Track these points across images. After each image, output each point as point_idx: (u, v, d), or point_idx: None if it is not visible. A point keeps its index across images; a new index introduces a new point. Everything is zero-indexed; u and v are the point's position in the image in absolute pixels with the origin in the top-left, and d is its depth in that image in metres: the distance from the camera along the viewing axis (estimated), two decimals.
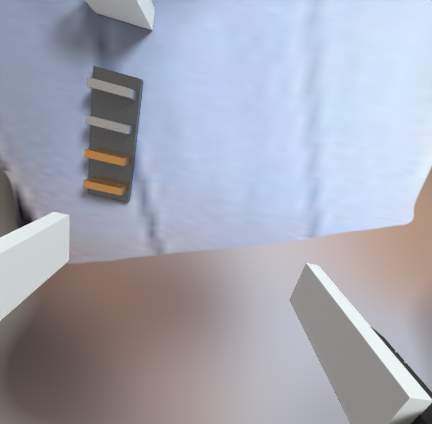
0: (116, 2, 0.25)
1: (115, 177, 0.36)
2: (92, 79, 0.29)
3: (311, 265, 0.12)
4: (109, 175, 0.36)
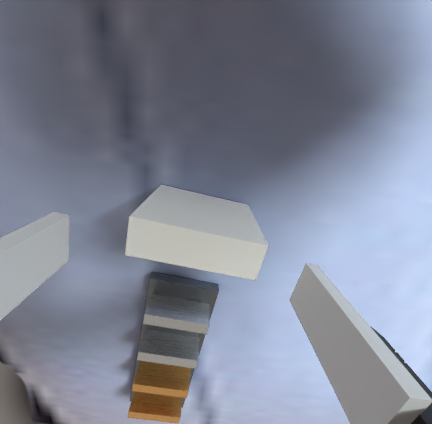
0: None
1: None
2: (152, 316, 0.19)
3: (311, 265, 0.12)
4: None
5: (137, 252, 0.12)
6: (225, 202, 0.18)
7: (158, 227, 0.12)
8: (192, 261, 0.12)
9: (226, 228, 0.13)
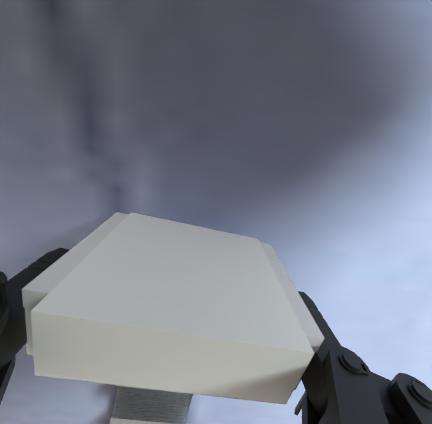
0: None
1: None
2: None
3: (263, 243, 0.13)
4: None
5: (57, 370, 0.06)
6: (226, 238, 0.12)
7: (95, 328, 0.06)
8: (168, 381, 0.06)
9: (232, 310, 0.07)
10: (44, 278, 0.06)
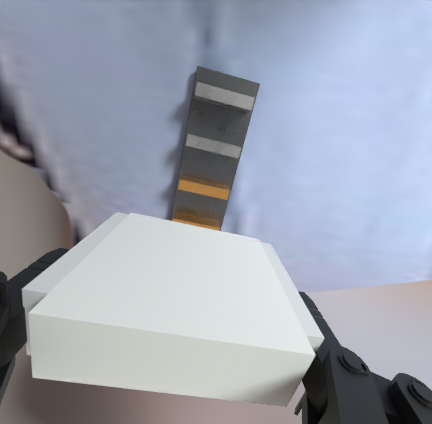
0: None
1: (205, 211, 0.28)
2: (203, 85, 0.21)
3: (263, 243, 0.13)
4: (198, 208, 0.28)
5: (56, 372, 0.06)
6: (226, 238, 0.12)
7: (94, 329, 0.06)
8: (167, 383, 0.06)
9: (232, 312, 0.07)
10: (44, 278, 0.06)
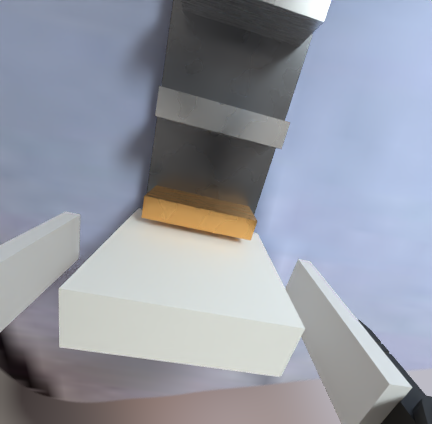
0: None
1: None
2: None
3: (303, 261, 0.12)
4: None
5: (80, 342, 0.07)
6: None
7: (113, 304, 0.07)
8: (175, 353, 0.07)
9: (232, 292, 0.08)
10: None
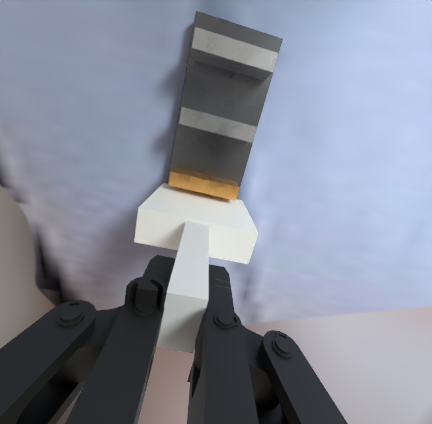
0: None
1: None
2: (205, 32, 0.14)
3: (201, 225, 0.13)
4: None
5: (144, 239, 0.14)
6: (221, 198, 0.20)
7: (163, 216, 0.13)
8: None
9: (222, 219, 0.15)
10: (175, 283, 0.08)
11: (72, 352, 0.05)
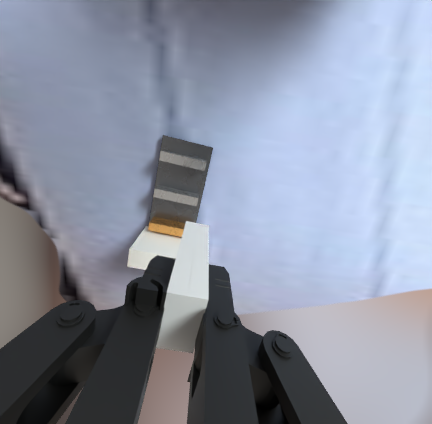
0: None
1: None
2: (165, 153, 0.27)
3: (201, 225, 0.13)
4: None
5: (132, 265, 0.26)
6: None
7: (142, 253, 0.25)
8: None
9: (176, 252, 0.27)
10: (175, 283, 0.08)
11: (72, 352, 0.05)
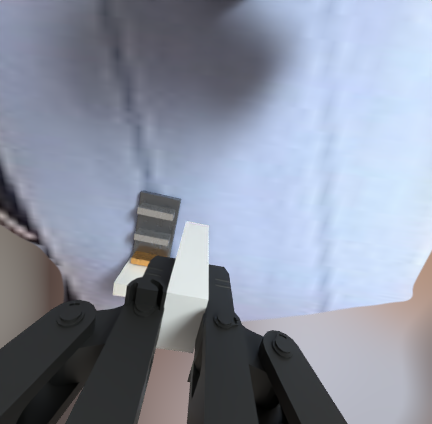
0: None
1: None
2: (142, 208, 0.35)
3: (201, 225, 0.13)
4: None
5: (117, 293, 0.34)
6: None
7: (124, 285, 0.34)
8: None
9: None
10: (175, 283, 0.08)
11: (72, 352, 0.05)
